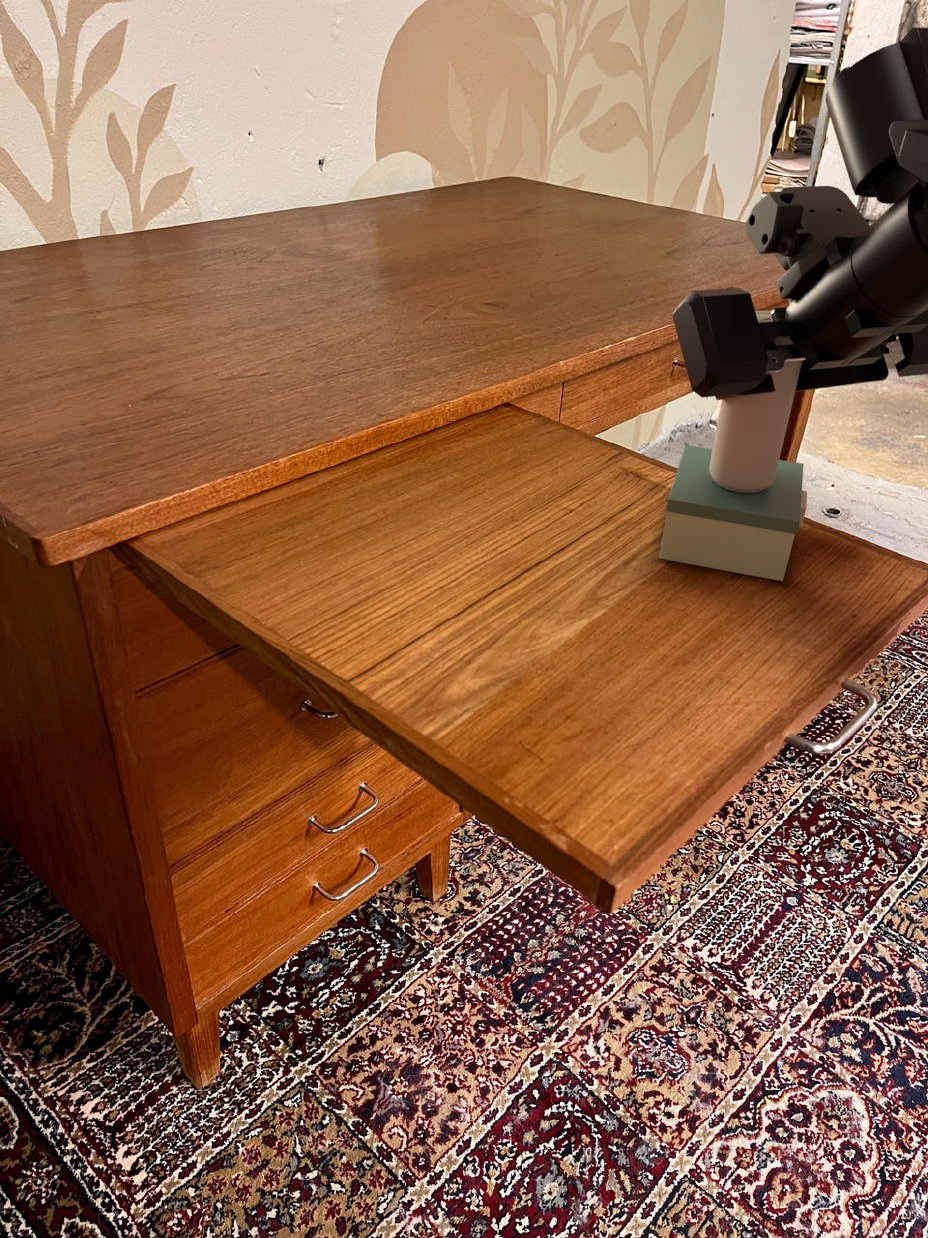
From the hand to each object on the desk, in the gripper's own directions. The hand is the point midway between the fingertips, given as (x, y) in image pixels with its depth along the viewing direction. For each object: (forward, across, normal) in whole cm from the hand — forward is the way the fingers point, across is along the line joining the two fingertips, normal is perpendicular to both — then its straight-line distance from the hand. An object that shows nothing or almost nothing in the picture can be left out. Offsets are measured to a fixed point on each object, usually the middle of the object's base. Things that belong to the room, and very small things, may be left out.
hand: (747, 390), depth 69 cm
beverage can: (+4, 0, +6) cm, 7 cm away
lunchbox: (+7, 0, +9) cm, 12 cm away
